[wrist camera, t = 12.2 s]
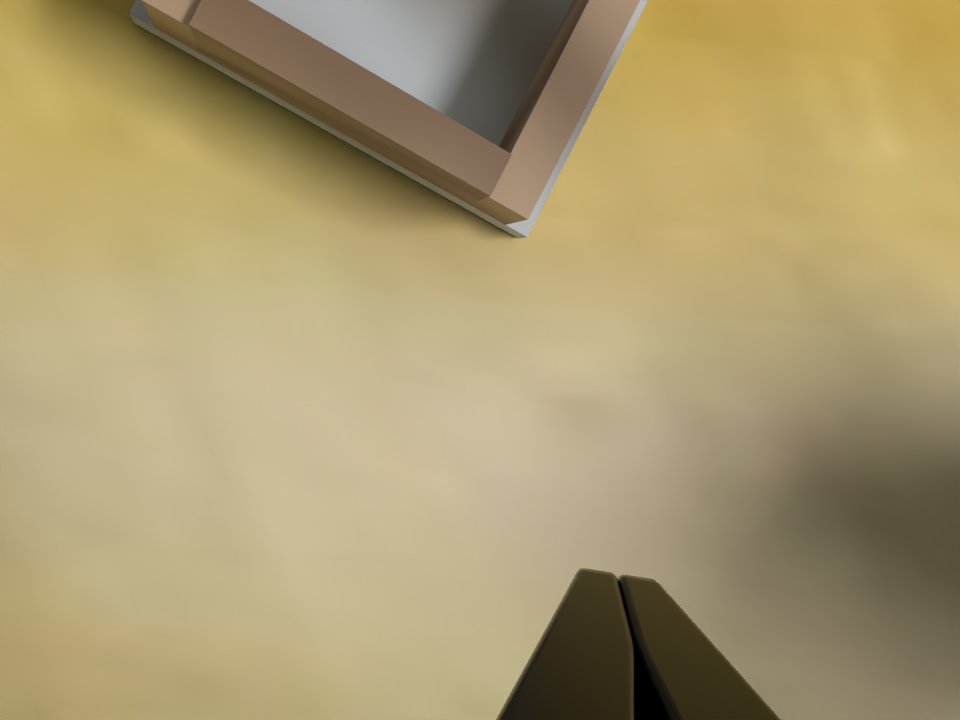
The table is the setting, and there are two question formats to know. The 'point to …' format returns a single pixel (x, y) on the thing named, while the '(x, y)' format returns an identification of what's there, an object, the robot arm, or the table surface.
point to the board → (423, 81)
